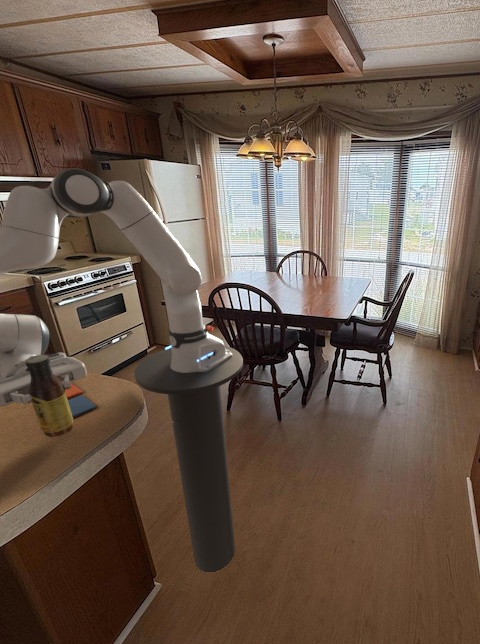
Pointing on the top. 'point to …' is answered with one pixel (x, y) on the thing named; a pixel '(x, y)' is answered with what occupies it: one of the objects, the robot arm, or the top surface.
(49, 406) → the sauce bottle
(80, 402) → the blue pad
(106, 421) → the top surface
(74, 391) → the terracotta pad
